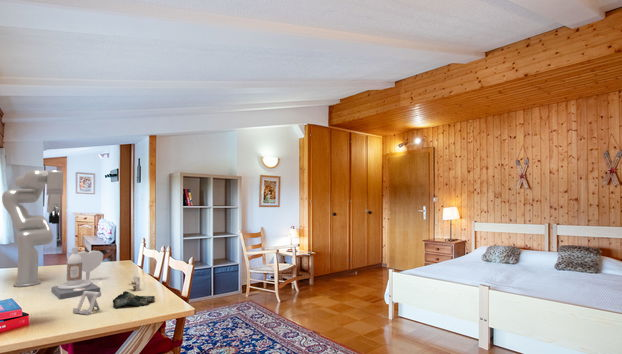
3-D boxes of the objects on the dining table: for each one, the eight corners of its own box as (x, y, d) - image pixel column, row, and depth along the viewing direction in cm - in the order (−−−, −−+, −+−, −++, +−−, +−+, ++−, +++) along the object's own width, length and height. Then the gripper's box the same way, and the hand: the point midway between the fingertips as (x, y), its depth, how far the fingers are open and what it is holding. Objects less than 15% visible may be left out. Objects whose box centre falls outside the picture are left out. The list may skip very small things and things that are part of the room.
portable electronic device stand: (72, 313, 160) (73, 294, 160) (89, 308, 167) (89, 289, 168) (87, 315, 157) (87, 295, 157) (103, 310, 164) (103, 291, 165)
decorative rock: (153, 289, 187) (160, 293, 174) (152, 301, 186) (159, 306, 173) (111, 292, 176) (115, 296, 164) (110, 305, 175) (113, 310, 163)
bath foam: (66, 286, 194) (67, 248, 195) (66, 283, 200) (67, 246, 201) (81, 284, 198) (82, 247, 199) (81, 282, 203) (82, 245, 205)
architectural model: (133, 292, 196) (133, 278, 196) (127, 290, 200) (127, 276, 201) (139, 291, 199) (139, 277, 199) (133, 289, 203) (133, 275, 203)
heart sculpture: (101, 278, 228) (102, 249, 229) (102, 280, 224) (103, 250, 225) (71, 282, 219) (72, 252, 220) (72, 284, 215) (73, 253, 216)
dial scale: (51, 291, 198) (51, 284, 199) (89, 285, 211) (89, 279, 211) (59, 299, 182) (59, 291, 183) (100, 292, 195) (100, 285, 195)
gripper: (43, 192, 209) (42, 222, 208) (49, 192, 197) (48, 224, 196) (59, 192, 214) (58, 222, 213) (65, 192, 202) (65, 223, 201)
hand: (53, 223), depth 205 cm, fingers open, 9 cm apart
